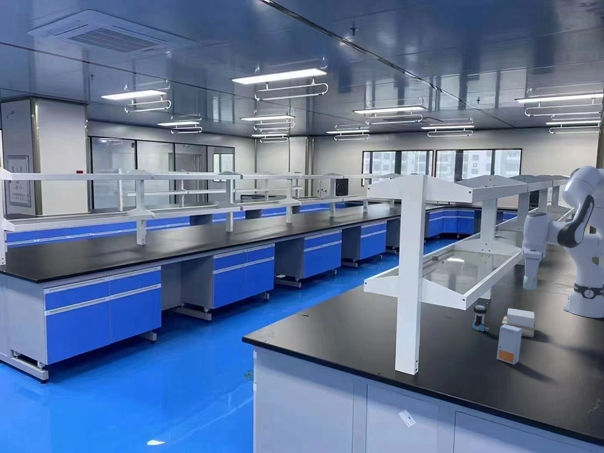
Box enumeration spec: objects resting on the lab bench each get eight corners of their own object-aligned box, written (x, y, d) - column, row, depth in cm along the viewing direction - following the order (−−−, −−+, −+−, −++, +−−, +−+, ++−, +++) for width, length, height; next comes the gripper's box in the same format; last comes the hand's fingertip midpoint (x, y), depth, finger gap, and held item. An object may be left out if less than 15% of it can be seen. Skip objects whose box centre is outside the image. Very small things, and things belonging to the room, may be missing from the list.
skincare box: (496, 359, 154) (499, 326, 153) (501, 356, 157) (504, 323, 156) (514, 365, 150) (518, 331, 149) (519, 361, 153) (522, 328, 152)
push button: (490, 330, 184) (492, 307, 183) (486, 333, 180) (488, 309, 179) (474, 326, 188) (476, 303, 187) (469, 329, 184) (471, 306, 183)
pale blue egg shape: (523, 286, 186) (524, 275, 186) (536, 288, 184) (537, 276, 184) (522, 288, 182) (523, 277, 182) (536, 290, 180) (537, 278, 179)
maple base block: (503, 324, 194) (504, 315, 194) (534, 330, 188) (535, 321, 188) (500, 332, 184) (501, 323, 183) (533, 338, 178) (534, 329, 177)
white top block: (507, 317, 192) (508, 308, 191) (533, 321, 188) (534, 312, 187) (506, 323, 183) (507, 314, 183) (533, 328, 179) (534, 318, 178)
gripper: (525, 248, 192) (522, 279, 193) (523, 253, 174) (520, 288, 176) (542, 249, 189) (539, 281, 190) (541, 255, 171) (538, 290, 173)
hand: (529, 284), depth 183 cm, fingers closed on pale blue egg shape, 5 cm apart
